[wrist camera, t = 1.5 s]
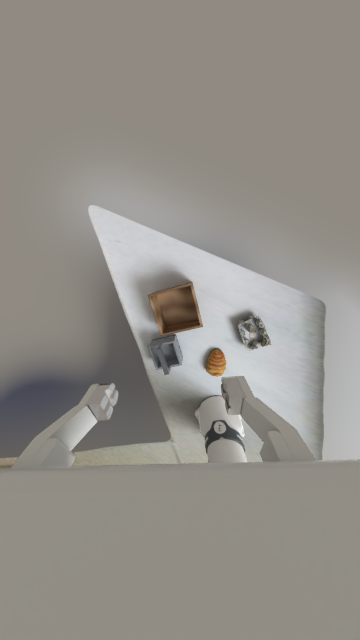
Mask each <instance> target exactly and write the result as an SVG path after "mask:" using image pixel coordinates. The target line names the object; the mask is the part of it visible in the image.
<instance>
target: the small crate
mask: <svg viewBox="0 0 360 640" xmlns="http://www.w3.org/2000/svg"><path fill="white" fill-rule="evenodd" d="M148 348H149V351H150V354H151V356H152V359H153V362H154V365H155V367H156V370H158V369H163V371H164V374H165V375H167V374H169V372H170V368H171V367H174V366H179V365H182V358H183V356H182V353H181V350H180V346H179V343H178V340H177V337H176V335H173V336H169V337H164V338H160V339H155V340H152V341H151V343H150V344H149V346H148Z"/></svg>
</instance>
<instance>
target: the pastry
mask: <svg viewBox="0 0 360 640" xmlns="http://www.w3.org/2000/svg"><path fill="white" fill-rule="evenodd" d="M225 368H226V361H225V357H224V354H223V352H222V351H221V350H219V349H216V350H214V351H212V352H211V354H210V356H209V358H208V360H207V368H206V371H207V372H208V373H209V374H210V375H212V376H221V375H223V373H224V370H225Z"/></svg>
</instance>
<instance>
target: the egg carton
mask: <svg viewBox="0 0 360 640" xmlns="http://www.w3.org/2000/svg"><path fill="white" fill-rule="evenodd" d="M253 317H255V318H256V319H258V320H256V322H255V324H256V325H257V326H258V327H260V328H261V329H260V330H259V333H260V334H261V335H262V336H263V337H264V338H263V339H262V342H259V341H254V342H253V343H252V345H251V346H249V345H247V344H248V343H249V341H248V339H247V338H246V337H244V335H245V331H244V330H243V329H241V328H240V326H241V325H242V324H244V323H245V324H246V323H248V324H247V325H246V326H245V328H246V330H247V331H249V332H250V334H249V337H250V338H251V339H253V338H255V337H256V333H254V332H256V329H255V327H254V326H253V325H252V324H250V322H251V321H252V319H253ZM236 326H237V328H238V329H239V332H240V335H241V337H242V340H243V343H244V345H245V347H246V349H247V350H249V351H250V350H253V349H256V348H258V347H260V346H267V345H271V343H270V339H269V336H268V335H267V331H266V329H265V326H264V324H263V322H262V320H261V319H260V317H259V315H258V316H252V315H251V316H249V319H248V320H247V321H243V320H239V323H238V325H236Z"/></svg>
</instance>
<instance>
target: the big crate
mask: <svg viewBox="0 0 360 640" xmlns="http://www.w3.org/2000/svg"><path fill="white" fill-rule="evenodd" d="M148 297H149V300H150V303H151V306H152V309H153V312H154V315H155V318H156V321H157V324H158V327H159V330H160V333H161V336H164V335H169V334H173V333H178V332H182V331H186V330H191V329H195V328H200V327H203V325H202V320H201V316H200V312H199V308H198V304H197V300H196V296H195V292H194V287H193V283H192V282H191V283H187V284H184V285H180V286H177V287H173V288H170V289H166V290H163V291H159V292H156V293H152V294H149V295H148Z"/></svg>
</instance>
